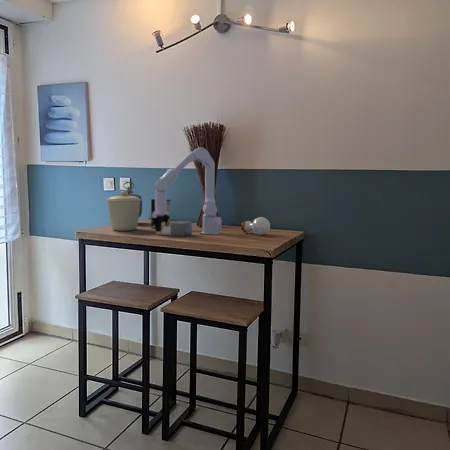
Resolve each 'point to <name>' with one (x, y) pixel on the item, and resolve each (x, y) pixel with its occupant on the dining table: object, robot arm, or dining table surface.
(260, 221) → the potion bottle
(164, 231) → the lever
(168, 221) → the coffee box
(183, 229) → the housing
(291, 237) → the dining table surface
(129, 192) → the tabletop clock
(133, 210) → the canister
